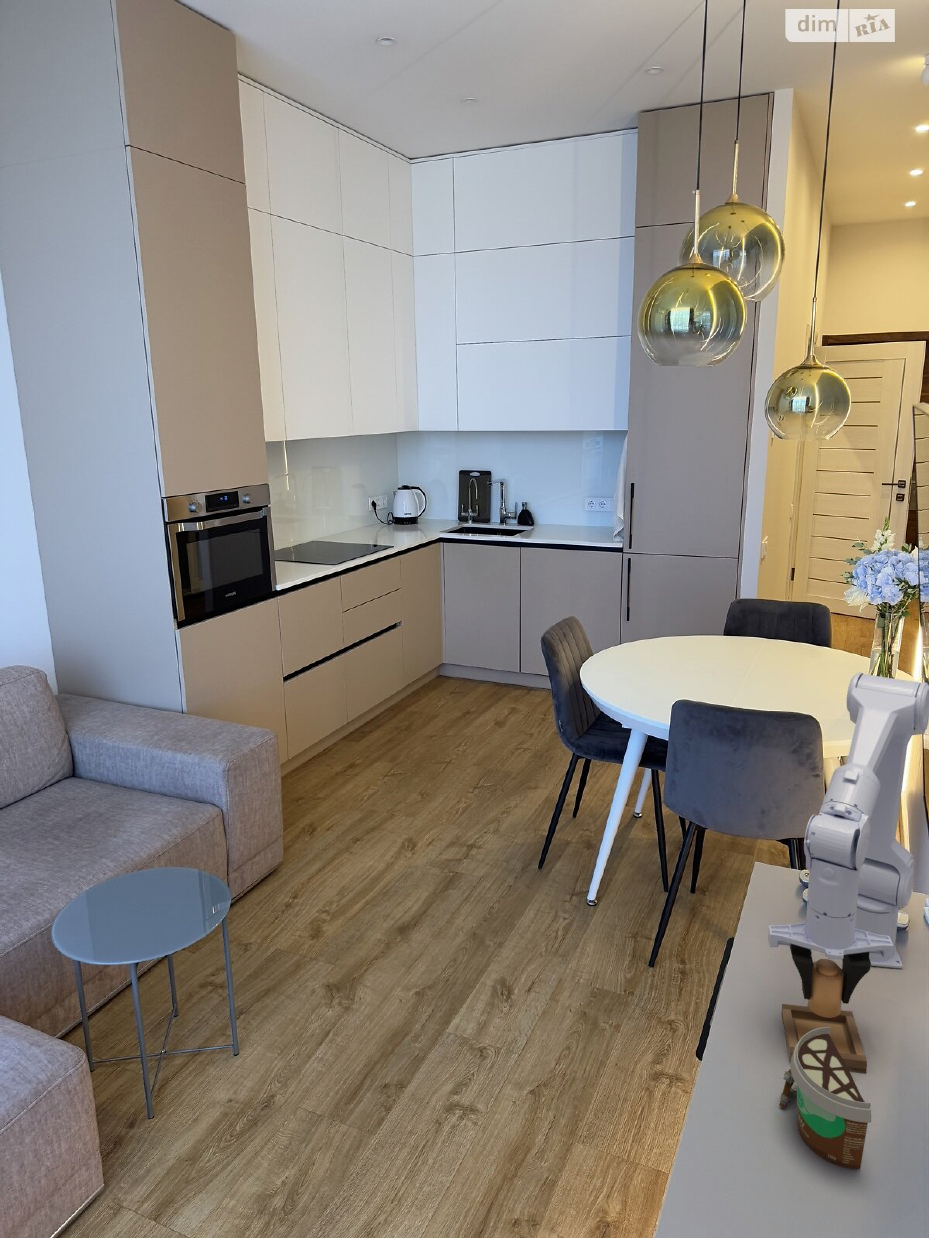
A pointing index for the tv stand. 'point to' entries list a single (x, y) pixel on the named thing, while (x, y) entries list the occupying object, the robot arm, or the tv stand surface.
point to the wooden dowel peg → (826, 988)
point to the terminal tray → (841, 1033)
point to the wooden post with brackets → (788, 1089)
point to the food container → (828, 1101)
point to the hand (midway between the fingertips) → (825, 996)
